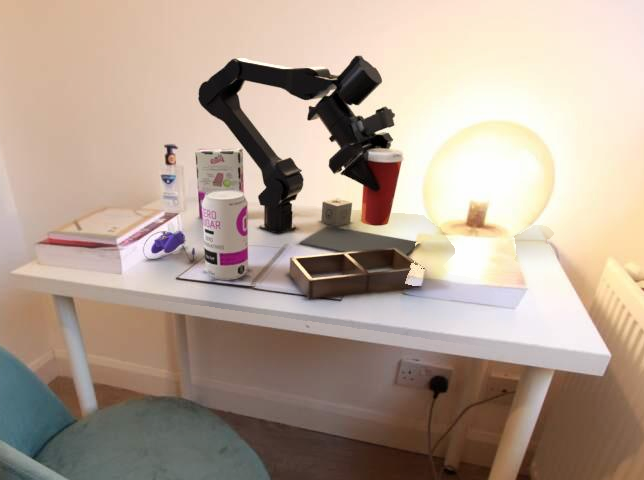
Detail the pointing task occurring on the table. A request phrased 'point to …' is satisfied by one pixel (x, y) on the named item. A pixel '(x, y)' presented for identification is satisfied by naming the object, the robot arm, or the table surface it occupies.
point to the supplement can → (225, 234)
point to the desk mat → (355, 241)
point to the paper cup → (381, 186)
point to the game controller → (168, 243)
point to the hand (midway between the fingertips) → (385, 186)
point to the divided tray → (351, 272)
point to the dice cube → (336, 212)
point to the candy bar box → (218, 171)
